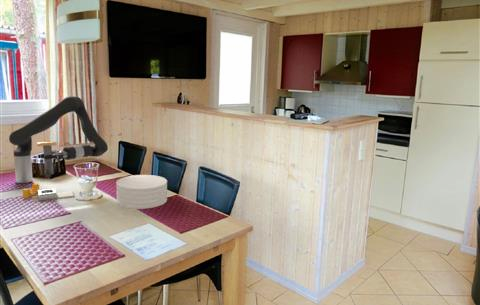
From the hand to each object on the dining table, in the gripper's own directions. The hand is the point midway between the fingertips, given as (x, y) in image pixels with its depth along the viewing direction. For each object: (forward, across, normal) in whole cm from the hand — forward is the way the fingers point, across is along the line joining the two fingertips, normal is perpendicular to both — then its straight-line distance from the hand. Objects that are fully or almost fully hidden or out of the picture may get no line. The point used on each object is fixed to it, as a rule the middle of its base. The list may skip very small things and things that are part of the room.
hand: (42, 156), depth 196 cm
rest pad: (-10, +2, +24) cm, 26 cm away
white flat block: (-1, -1, +24) cm, 24 cm away
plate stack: (-38, +35, +26) cm, 58 cm away
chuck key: (-3, 0, +10) cm, 10 cm away
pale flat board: (-4, 0, +25) cm, 25 cm away
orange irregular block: (+3, -12, +25) cm, 28 cm away
